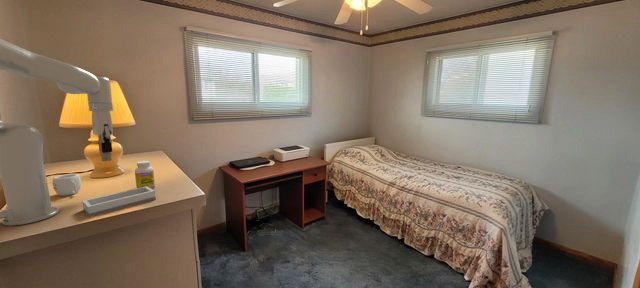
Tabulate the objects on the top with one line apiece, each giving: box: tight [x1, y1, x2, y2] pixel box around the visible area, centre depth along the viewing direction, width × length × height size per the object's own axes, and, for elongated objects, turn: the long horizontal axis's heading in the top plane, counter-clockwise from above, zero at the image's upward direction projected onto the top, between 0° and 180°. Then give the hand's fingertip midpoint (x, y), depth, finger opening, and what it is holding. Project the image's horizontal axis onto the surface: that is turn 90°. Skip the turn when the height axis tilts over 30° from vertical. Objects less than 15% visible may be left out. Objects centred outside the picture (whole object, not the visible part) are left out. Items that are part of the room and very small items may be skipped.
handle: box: [98, 134, 113, 162], centre depth 106 cm, size 5×6×15 cm
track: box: [81, 186, 157, 217], centre depth 96 cm, size 20×10×4 cm, turn 141°
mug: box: [51, 173, 82, 197], centre depth 107 cm, size 12×8×8 cm
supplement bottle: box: [134, 160, 156, 191], centre depth 110 cm, size 7×7×13 cm
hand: (105, 151), depth 107 cm, fingers closed on handle, 4 cm apart
